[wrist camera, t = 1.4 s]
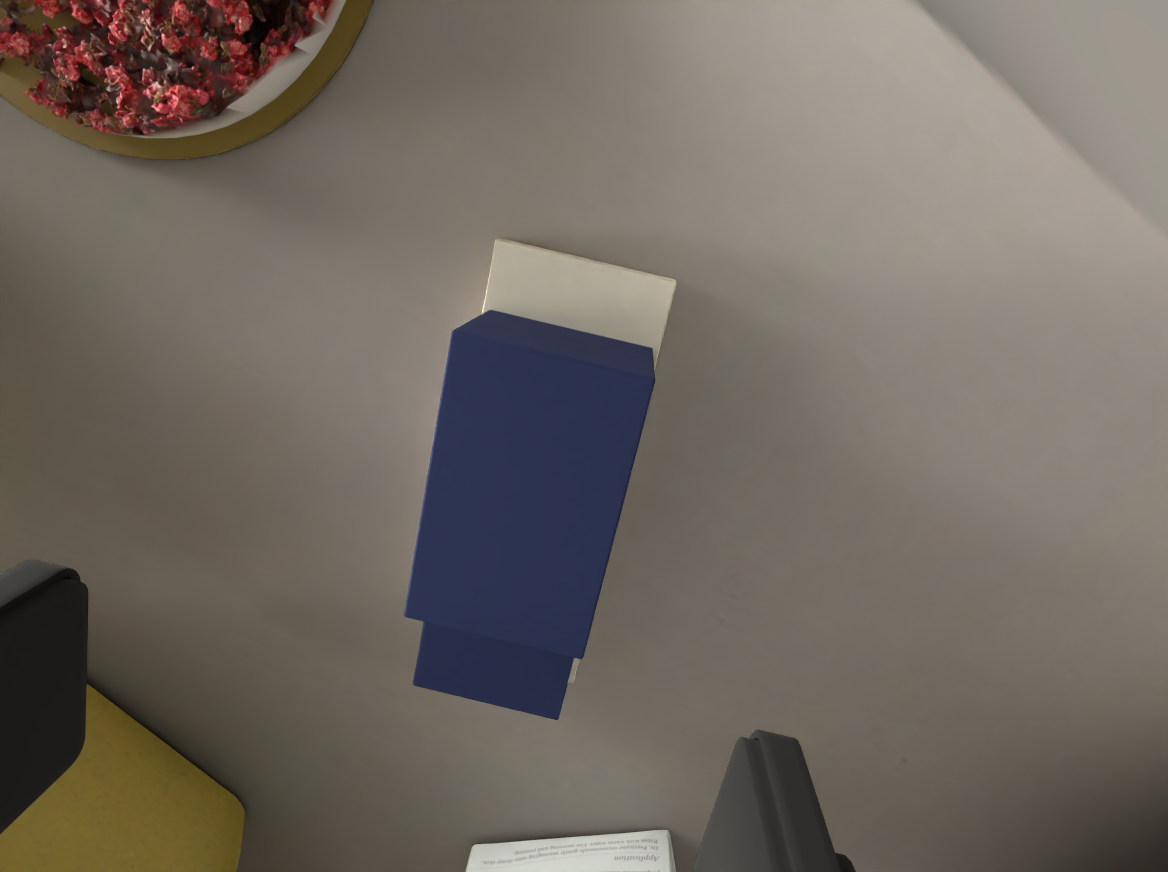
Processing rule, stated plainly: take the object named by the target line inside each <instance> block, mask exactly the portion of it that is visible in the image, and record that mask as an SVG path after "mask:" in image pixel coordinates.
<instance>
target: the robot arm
mask: <svg viewBox="0 0 1168 872" xmlns="http://www.w3.org/2000/svg"><path fill="white" fill-rule="evenodd" d="M87 640H88V588H87V586H86V584H84V583H82V582H80V576H79V574H78V573H77V571H75V570H73V569H71V568H67V567H62V566H58V565H54V564H49V563H45V562H41V561H37V560H27V561H24V562H22V563H19V564H18V565H16V566H14V567H12V568H10V569H9V570H7V571H5V572H3V573H1V574H0V834H1V833H2V832H3V831H4V830H5V829H6V828H8V827H9V826H10V825H11V824H12V823H13V822H14V821H15V820H16V819H17V818H18V817H19V816H20V815H21V814H22V813H23V812H24V811H25V810H26V809H27V808H28V807H29V806H30V805H31V804H32V803H33V802H35V801H36V800H37V799H38V798H39V797H40V796H41V795H42V794H43V793H44V792H45V791H46V790H47V789H48V788H49V787H50V786H51V785H52V784H53V783H54V782H55V781H56V780H57V779H58V778H59V777H61V776H62V775H63V774H64V773H65V772H66V771H67V770H68V769H69V768H70V767H71V766H72V764H73V763H74V762H75V761H76V759H77V758H78V756H79V754H80V752H81V750H82V748H83V745H84V742H85V736H86V689H87ZM691 872H856V871H855V869H854V867H853V865H852V863H851V861H850V860H849V859H848V858H847V857H846V856H845V855H842V854H838V853H835V851H834V848H833V845H832V842H831V839H830V836H829V833H828V830H827V826H826V823H825V820H824V817H823V814H822V811H821V808H820V805H819V802H818V799H817V795H816V792H815V789H814V786H813V783H812V780H811V777H810V774H809V771H808V768H807V764H806V761H805V758H804V755H803V752H802V749H801V746H800V744H799V742H798V740H797V739H795V738H792V737H788V736H783V735H779V734H775V733H771V732H766V731H762V730H755V731H754V732H753V733H752V735H751V737H750V739H748V738H744V737H740V738H739V739H738V740H737V743H736V745H735V748H734V750H733V753H732V756H731V759H730V762H729V765H728V768H727V771H726V773H725V776H724V779H723V782H722V785H721V788H720V791H719V794H718V796H717V799H716V802H715V805H714V808H713V811H712V814H711V817H710V819H709V822H708V825H707V828H706V831H705V834H704V837H703V840H702V842H701V845H700V848H699V851H698V854H697V857H696V860H695V863H694V865H693V868H692V871H691Z"/></svg>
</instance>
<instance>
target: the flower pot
mask: <svg viewBox="0 0 1168 872" xmlns="http://www.w3.org/2000/svg"><path fill="white" fill-rule="evenodd" d="M244 823H245V811H244V808H243V806H242V804H241V803H240V802H239V800H238V799H237V798H236V797H235V796H234V795H233V794H232V793H230V792H229V791H227V790H226V789H225V788H223V787H222V786H221V785H219V784H218V783H217V782H216V781H214V780H213V779H212V778H210V777H209V776H208V775H206V774H205V773H204V772H202V771H201V770H200V769H198V768H197V767H196V766H195V765H193V764H192V763H191V762H189V761H188V760H187V759H185V758H184V757H183V756H181V755H180V754H179V753H177V752H176V751H175V750H173V749H172V748H171V747H169V746H168V745H167V744H166V743H164V742H163V741H162V740H160V739H159V738H158V737H156V736H155V735H154V734H152V733H151V732H150V731H148V730H147V729H146V728H144V727H143V726H142V725H140V724H139V723H138V722H137V721H135V720H134V719H133V718H131V717H130V716H129V715H127V714H126V713H125V712H123V711H122V710H121V709H120V708H118V707H117V706H116V705H114V704H113V703H112V702H110V701H109V700H108V699H107V698H105V697H104V696H103V695H101V694H100V693H99V692H97V691H96V690H95V689H94V688H92V687H91V686H90V685H88V684H87V689H86V736H85V742H84V745H83V748H82V750H81V752H80V754H79V756H78V758H77V759H76V761H75V762H74V763H73V764H72V766H71V767H70V768H69V769H68V770H67V771H66V772H65V773H64V774H63V775H62V776H61V777H59V778H58V779H57V780H56V781H55V782H54V783H53V784H52V785H51V786H50V787H49V788H48V789H47V790H46V791H45V792H44V793H43V794H42V795H41V796H40V797H39V798H38V799H37V800H36V801H35V802H33V803H32V804H31V805H30V806H29V807H28V808H27V809H26V810H25V811H24V812H23V813H22V814H21V815H20V816H19V817H18V818H17V819H16V820H15V821H14V822H13V823H12V824H11V825H10V826H9V827H8V828H6V829H5V830H4V831H3V832H2V833H1V834H0V872H236V870H237V865H238V861H239V856H240V849H241V843H242V836H243V830H244Z"/></svg>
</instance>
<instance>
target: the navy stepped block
mask: <svg viewBox="0 0 1168 872" xmlns="http://www.w3.org/2000/svg"><path fill="white" fill-rule="evenodd" d="M676 285H677V283H676V281H675V279H672V278H668V277H664V276H659V275H655V274H651V273H647V272H642V271H638V270H634V269H630V268H625V267H621V266H617V265H613V264H608V263H604V262H600V261H596V260H591V259H587V258H583V257H579V256H574V255H570V254H566V253H562V252H557V251H553V250H549V249H545V248H540V247H536V246H532V245H528V244H523V243H519V242H515V241H511V240H506V239H499V240H496V241H495V245H494V250H493V256H492V261H491V267H490V272H489V278H488V284H487V289H486V295H485V300H484V306H483V311H482V314H481V315H480V316H478V317H476V318H474V319H472V320H471V321H469V322H467V323H465V324H464V325H462V326H460V327H458V328H456V329H455V330H453V331H452V334H451V339H450V345H449V351H448V357H447V363H446V369H445V375H444V381H443V387H442V393H441V399H440V405H439V411H438V417H437V422H436V428H435V434H434V440H433V446H432V452H431V458H430V464H429V470H428V476H427V482H426V488H425V494H424V500H423V506H422V511H421V517H420V523H419V529H418V535H417V541H416V547H415V553H414V559H413V565H412V571H411V577H410V583H409V589H408V595H407V600H406V606H405V612H404V616H405V617H408V618H412V619H416V620H420V621H424V624H423V630H422V636H421V641H420V647H419V652H418V658H417V664H416V669H415V675H414V680H413V685H415V686H419V687H423V688H427V689H431V690H435V691H439V692H443V693H448V694H452V695H456V696H460V697H464V698H468V699H472V700H476V701H480V702H485V703H489V704H493V705H497V706H501V707H505V708H509V709H513V710H517V711H522V712H526V713H530V714H534V715H538V716H542V717H546V718H550V719H554V720H558V719H559V716H560V712H561V708H562V704H563V700H564V696H565V692H566V688H567V684H568V683H571V684H573V683H574V679H575V675H576V671H577V668H578V664H579V660H580V659H582V658H583V656H584V652H585V649H586V645H587V641H588V637H589V633H590V629H591V626H592V622H593V618H594V614H595V610H596V606H597V602H598V599H599V595H600V591H601V587H602V583H603V579H604V576H605V572H606V568H607V564H608V560H609V556H610V552H611V549H612V545H613V541H614V537H615V533H616V529H617V526H618V522H619V518H620V514H621V510H622V506H623V502H624V499H625V495H626V491H627V487H628V483H629V479H630V476H631V472H632V468H633V464H634V460H635V456H636V452H637V449H638V445H639V441H640V437H641V433H642V429H643V426H644V422H645V418H646V414H647V410H648V406H649V402H650V399H651V395H652V391H653V387H654V383H655V372H654V370H655V366H656V362H657V358H658V354H659V350H660V346H661V343H662V339H663V335H664V331H665V327H666V323H667V319H668V316H669V312H670V308H671V304H672V300H673V296H674V292H675V288H676Z"/></svg>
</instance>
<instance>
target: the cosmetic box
mask: <svg viewBox="0 0 1168 872" xmlns="http://www.w3.org/2000/svg"><path fill="white" fill-rule="evenodd" d="M466 872H676V868H675V862H674V855H673V849H672V843H671V837H670V832H669V830H652V831H641V832H631V833H619V834H606V835H593V836H580V837H567V838H555V839H542V840H530V841H517V842H507V843H493V844H476V845H473V847H472V849H471V852H470V856H469V860H468V864H467V868H466Z"/></svg>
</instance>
